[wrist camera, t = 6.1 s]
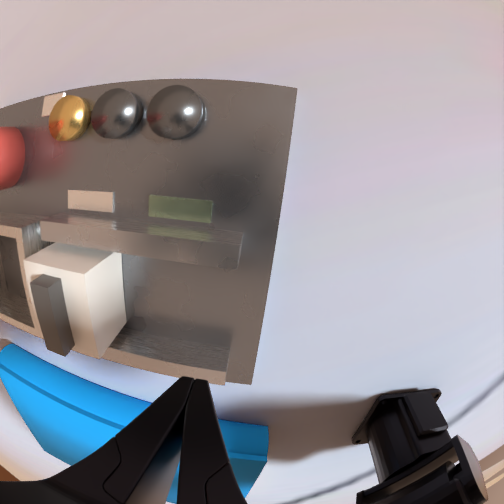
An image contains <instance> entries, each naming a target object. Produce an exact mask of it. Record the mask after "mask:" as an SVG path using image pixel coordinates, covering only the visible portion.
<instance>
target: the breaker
mask: <svg viewBox="0 0 504 504" xmlns="http://www.w3.org/2000/svg"><path fill="white" fill-rule="evenodd" d="M23 262H24V268H25V274H26V279H27V284H28V289H29V294H30V298H31V302H32V306H33V310H34V314H35V318H36V321H37V325H38V328H39V332H40V335H41V338H42V339H44V340H45V344H46V347H47V349H48V350H50V351H52V352H55V353H57V354H60V355H62V356H66V355H67V354H68V353H69V351H70V350H73V351H76V352H79V353H82V354H85V355H88V356H91V357H94V358H97V359H100V358H101V357H102V355H103V354H104V353H105V351H106V350H107V348H108V347H109V346H110V344H111V343H112V341H113V340H114V339H115V337H116V336H117V335H118V333H119V332H120V331H121V329H122V328H123V326H124V325H125V324H126V322H127V320H126V311H125V301H124V289H123V275H122V256H121V253H116V252H110V251H103V250H97V249H91V248H85V247H79V246H73V245H67V244H61V243H53V244H51V245H50V246H48V247H46V248H44V249H42V250H40V251H38V252H37V253H35V254H33V255H31V256H29V257H27V258H26V259H24V260H23Z"/></svg>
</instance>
